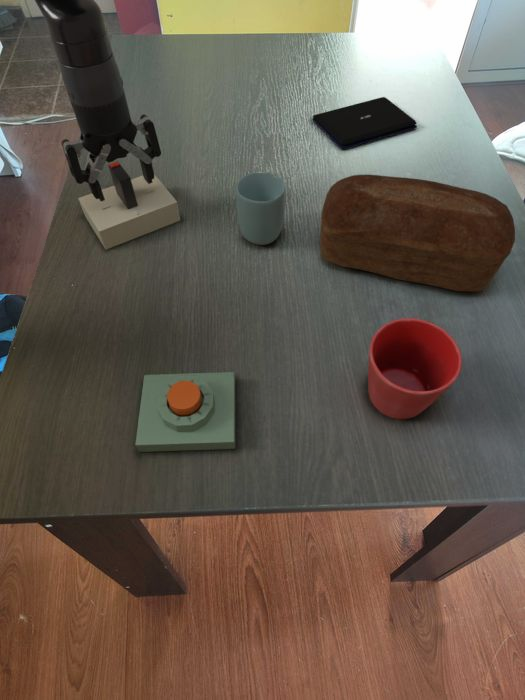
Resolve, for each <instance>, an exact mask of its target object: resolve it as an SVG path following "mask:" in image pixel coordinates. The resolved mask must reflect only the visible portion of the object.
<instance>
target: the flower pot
mask: <svg viewBox="0 0 525 700" xmlns="http://www.w3.org/2000/svg"><path fill="white" fill-rule="evenodd" d="M367 362H368V363H367V364H368V366H367V368H368V371H367V373H368V375H367V378H368V379H367V382H368V383H367V384H368V385H367V390H368V396H369V400H370V402H371V403H372V405H373V407H374V408H375V409H377V410H378V411H379V412H380V413H381V414H383V415H384V416H387V417H389V418H391V419H396V420H407V419H411V418H414V417H416V416H418V415H419V414H421V413H422V412H423V411H425V410H426V409H427V408H428V407H430V406H431V405H432V404H433V403H434V402H435V401H437V399H438V398H440V397H441V396H442V395H443V394H444V393H445V392H446V391H447V390H448V389H449V388H450V387H451V386H453V384H454V383H455V382H456V381H457V379H458V378H459V376H460V374H461V371H462V366H463V356H462V353H461V349H460V347H459V345H458V343H457V341H456V340H455V338H453V336H451V335H450V333H449V332H447V331H446V330H444V329H443V328H442V327H441V326H439V325H437V324H435V323H432V322H430V321H429V320H428V321H427V320H424V319H420V318H411V317H410V318H409V317H408V318H407V317H405V318H399V319H395V320H391V321H390V322H387V323H385V324H384V325H382V326H381V327H380V328H379V329H378V330H376V332H375V333H374V335H373V337H372V339H371V340H370V344H369V349H368V361H367Z"/></svg>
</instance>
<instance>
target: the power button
mask: <svg viewBox="0 0 525 700" xmlns="http://www.w3.org/2000/svg"><path fill="white" fill-rule="evenodd" d="M167 399H168V402H169V405H170V408H171V410H172V411H173V412H174V413H176V414H178V415H181V416H187V415H191V414H193V413H195V412H196V411H197V410H198V409H199V408H200V406H201V403H202V398H201V393H200V389H199V387H198V386H197V385H196V384H195V383H193V382H191V381H180V382H177V383H175V384H174V385H173V386H171V388H170V389H169V391H168V394H167Z"/></svg>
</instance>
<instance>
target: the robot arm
mask: <svg viewBox="0 0 525 700" xmlns="http://www.w3.org/2000/svg"><path fill="white" fill-rule="evenodd" d="M34 2H35V3H36V6H37V7H38V9H39V11H40V13H41V14H42V17H43V18H44V21H45V24H46V27H47V30H48V33H49V34H48V35H49V37H50V40H51V43H52V46H53V48H54V51H55V55H56V57H57V60H58V64H59V69H60V74H61V78H62V81H63V84H64V87H65V90H66V93H67V96H68V99H69V102H70V104H71V108H72V111H73V113H74V116H75V120H76V121H77V125H78V127H79V131H80V137H79V139H75V140H72V141H70V140H69V139H67V138H65V139H62V141H61V146H62V150H63V152H64V156H65V160H66V162H67V165H68V168H69V172H70V175H71V176H72V177H73V178H74V181H75V182H76V183H77V184H79V185H82V184H83V183H87V185H88V186H89V191H90V192H91V193H92V194H93V196H94V197H95V198H96V199H99V200H100V201H104V200H105V198H104V196H103V193H102V190H103V189H102V187H101V184H100V181H99V180H98V177H99V174H100V173H101V172H102V171H103V169H104V166H105V163H106V162H107V163H109V164H110V163H113V162H115V161H116V160H117V159H125V158H127V157H128V155H129V154H131V155H133V156H134V157H135V158H136V159H138V160H139V165H140V168H141V172H142V176H144V179H145V180H146V182H147V183H148V184H150V183H153V182H152V179H154V174H155V172H154V171H155V170H154V166H153V163H152V162H153V159H154V158H159V157H160V156H161V155H162V150H161V147H160V143H159V139H158V136H157V131H156V128H155V124H154V122H153V121H152V120H151V118H149V117H148V115H147V114H144V113H143V114H141V115H140V117H139V119H138V120H135V121H133V120H132V118H131V113H130V109H129V105H128V101H127V97H126V93H125V89H124V80H123V77H122V75H121V73H120V72H121V71H120V68H119V66H118V63H117V60H116V58H115V54H114V53H113V48H112V44H111V39H110V35H109V32H108V27H107V25H106V20H105V16H104V14H103V12H102V9H101V7H100V6H99V4H98V3H97V1H96V0H34ZM138 131H139V132H140V133H141V134H142V135H144V138H145V141H146V145H147V147H146V148H143V147H141V146H140V145H138V144H137V143H136V142H135V140H136V137H137V133H138ZM83 149H84V150H85V151H87V152H88V153H87V154H86V163H85V165H84V169H82V168H81V165H80V162H79V158H80V157H81V155H82V150H83ZM91 193H90V194H91Z"/></svg>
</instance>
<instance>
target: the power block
mask: <svg viewBox="0 0 525 700" xmlns="http://www.w3.org/2000/svg"><path fill="white" fill-rule="evenodd" d="M235 373H236V372H235V371H227V372H226V371H225V372H224V371H223V372H195V373H194V372H190V373H189V372H188V373H160V374H144V375H143V380H142V381H143V382H142V388H141V389H142V391H141V397H140V404H139V405H140V406H139V413H138V421H137V429H136V436H135V444H134V445H135V447H136V449H137V451H138V452H139V453H149V452H150V453H151V452H153V453H154V452H177V451H179V452H182V451H208V450H209V451H210V450H235V449H236V374H235ZM180 381H191V382H193V383H195V384H196V385H197V386H198V387H199V389H200V393H201V398H202V403H201V406H200V408H199V409H198V410H197V411H196V412H195V413H193V414H191V415H187V416H181V415H178V414H176V413H174V412H173V411H172V410H171V408H170V405H169V402H168V399H167V394H168V391H169V389H170V388H171V386H173V385H174V384H175V383H177V382H180Z"/></svg>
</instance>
